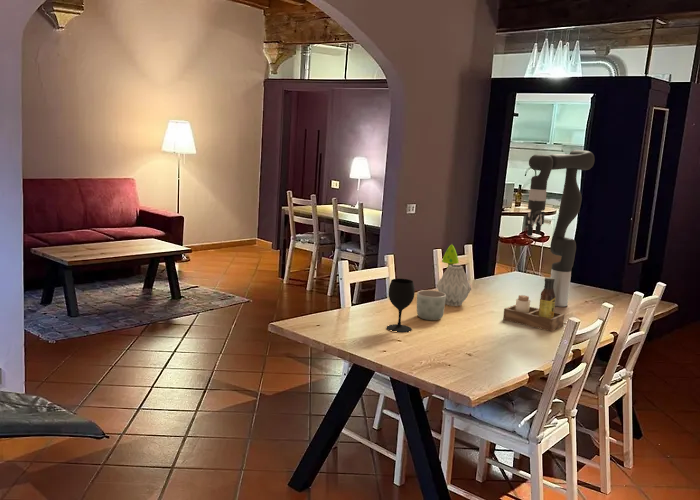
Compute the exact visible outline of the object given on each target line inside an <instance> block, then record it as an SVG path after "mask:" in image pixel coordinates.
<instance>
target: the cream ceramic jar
mask: <svg viewBox="0 0 700 500" xmlns="http://www.w3.org/2000/svg"><path fill="white" fill-rule="evenodd" d="M529 298H530V297H529V295H523V294H520V295H518V298H516V299H515V305H516V308H515V311H519V312H523V313H529V310H530V307H531V300H530V299H529Z"/></svg>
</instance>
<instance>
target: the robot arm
mask: <svg viewBox="0 0 700 500" xmlns="http://www.w3.org/2000/svg"><path fill="white" fill-rule="evenodd" d="M594 164H595V155H594V153H593V152H592V151H589V150H582V149H581V150H580V149H573V150H571V151H570V153H568V154H567V153H566V154H565V153H552V154H538V153H537V154H533V155H532V156H531V157H530V158H529V160H528V165H529V167H530V169H532V170H533V171H539V174H538V175H533V176H532V177H531V179H530V187H529V188H530V189H529V192H528V202H527V203H528V204H527V210H530V212H527V213H526V218H525V227H527V233H526V234H527V236H528V237H529V236H530V237H532V236H533V232H534V226H535V232H534V233H535V234H536V235H541V230H542V226H543V225H544V223H545V214H546V213H545V210H546V203H547V188H548V187H547V186H548V180H549V177H550V175H551V172H552V171H553V170H554V171H555V170H565V178H564V179H565V180H564V185H563V191H562V194H561V200H560V204H559V210H558V216H557V219H556V223H555V227H554V231H553V233H552V236H551V237H552V238H551V241H550V247H549V249H550V252H551V253H552V254H553V255H555V256H559V257H560V260H559V261H556V262H553V263H552V264H551V271H550V277H551V278H554V279H555V281H554V293H555V296H556V298H555V307H567V306H568V305H569V304H568V303H569V294H570V286H571V277H572V268H573V267H574V262H575V257H576V252H577V243H576V240H574V239H573V238H570V237H565V236H566V233H567V229H568V227H569V226H570V225H571V223H572V222H573V221H574V219H576V218H577V216H578V215H579V212H580V211H581V209H580V208H581V205H582V200H583V199H582V198H583V197H582V193H581V191H580V190H581V189H580V187H579V185H578V182H577V175H578V171H588V170H591V168H593V167H594Z"/></svg>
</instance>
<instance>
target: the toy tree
mask: <svg viewBox="0 0 700 500" xmlns="http://www.w3.org/2000/svg"><path fill="white" fill-rule="evenodd" d="M441 262H442V263H444V264H447V268H448V267H449V265H458V264H459V257H458V254H457V251H456V248H455V246H454V245H453V244H450V245H449V246H448V248H447V249H446V251H445V252H444V255H443V257H442V260H441ZM447 268H446V269H447Z"/></svg>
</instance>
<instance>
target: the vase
mask: <svg viewBox="0 0 700 500" xmlns="http://www.w3.org/2000/svg"><path fill="white" fill-rule="evenodd" d="M447 267H448V266H447ZM435 286H436V288H437V291H439V292H443V293H445V294H446V299H445V305H446V306H451V307H457V306H458V307H460V306H462V305H463V303H464V301H466V300H467V298H468V296H469V294H470V292H471V291H472V287H471V286H472V285H471V283H470V281H469V280H468V276H467V273H466V272H465V269H464V266H463V265H459V264H453V265H449V267H448V268H446V269H445V271H444V272H443V274H442V276H441V277H440V279H439V281H437V284H436V285H435Z"/></svg>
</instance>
